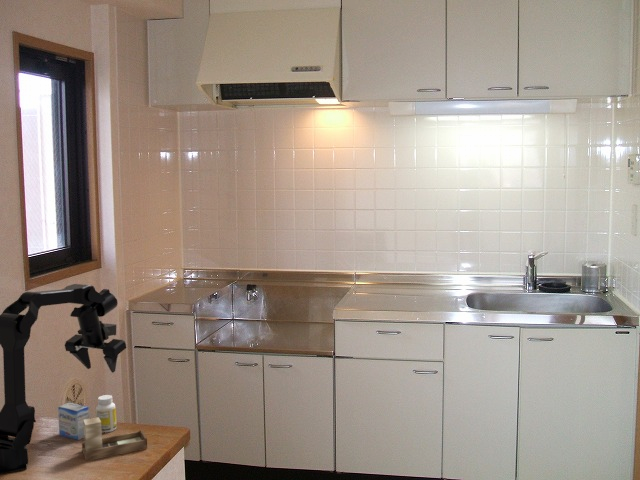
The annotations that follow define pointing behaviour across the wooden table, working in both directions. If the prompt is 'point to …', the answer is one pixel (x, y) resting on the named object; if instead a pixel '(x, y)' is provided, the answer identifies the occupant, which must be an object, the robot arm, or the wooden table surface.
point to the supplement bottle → (106, 413)
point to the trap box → (117, 445)
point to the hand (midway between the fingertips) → (101, 370)
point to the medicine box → (72, 420)
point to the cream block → (92, 434)
